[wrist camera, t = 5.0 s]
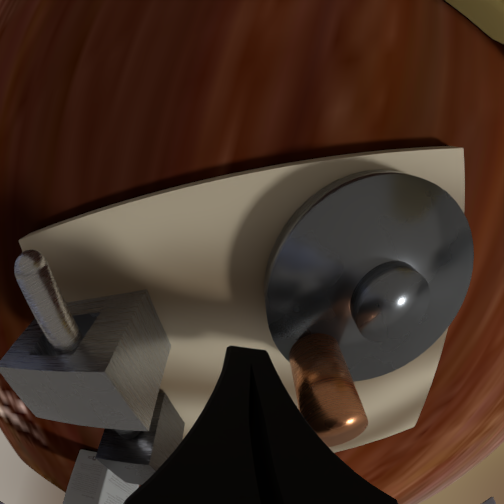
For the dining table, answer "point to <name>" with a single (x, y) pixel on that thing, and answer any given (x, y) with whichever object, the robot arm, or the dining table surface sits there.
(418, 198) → the handwheel
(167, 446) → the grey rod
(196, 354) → the board
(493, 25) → the cheese
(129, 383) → the block
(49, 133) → the dining table surface
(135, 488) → the skincare box
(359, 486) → the robot arm
